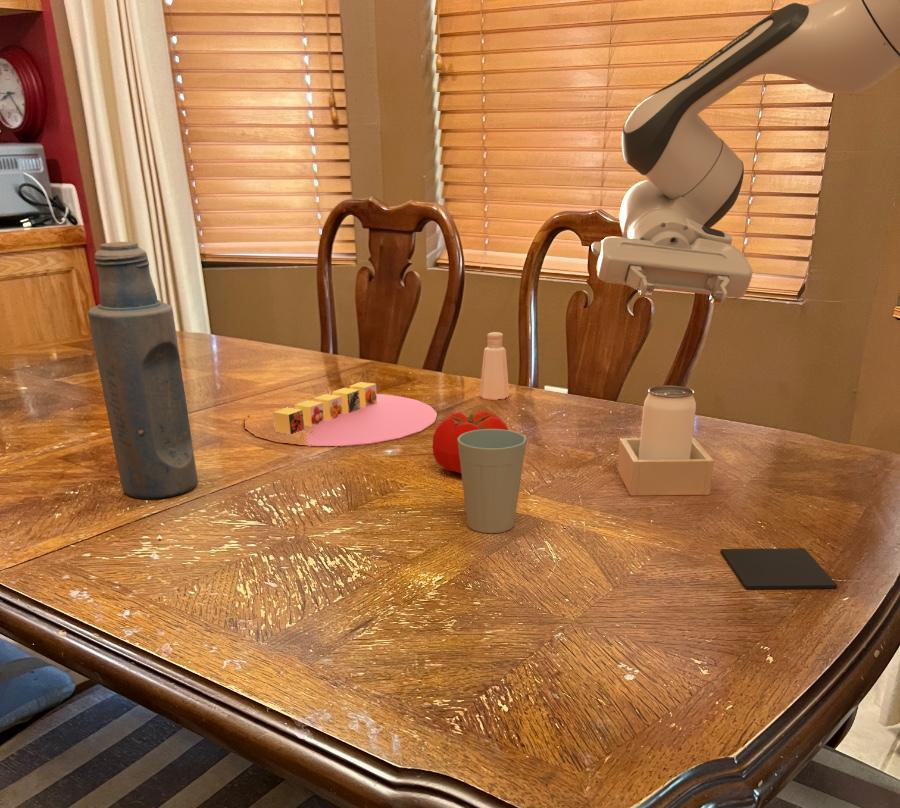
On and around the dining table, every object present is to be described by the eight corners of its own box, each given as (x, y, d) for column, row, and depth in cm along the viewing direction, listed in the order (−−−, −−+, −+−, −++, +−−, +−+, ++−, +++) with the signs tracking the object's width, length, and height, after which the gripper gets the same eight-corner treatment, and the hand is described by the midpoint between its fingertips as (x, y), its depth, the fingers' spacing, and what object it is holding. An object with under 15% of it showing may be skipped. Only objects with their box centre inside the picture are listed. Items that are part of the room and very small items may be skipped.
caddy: (690, 469, 117) (694, 437, 115) (709, 495, 108) (714, 460, 106) (617, 470, 117) (619, 438, 115) (630, 495, 109) (633, 461, 106)
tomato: (496, 454, 124) (497, 402, 121) (519, 478, 115) (521, 423, 111) (424, 460, 122) (423, 408, 119) (442, 485, 113) (441, 430, 109)
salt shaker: (477, 400, 152) (478, 336, 147) (480, 392, 157) (480, 330, 152) (508, 400, 151) (509, 336, 146) (510, 393, 156) (511, 330, 151)
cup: (452, 514, 104) (452, 430, 99) (514, 510, 105) (517, 426, 100) (464, 539, 97) (464, 450, 92) (530, 534, 98) (533, 446, 93)
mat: (803, 551, 93) (804, 547, 93) (836, 588, 85) (837, 585, 85) (720, 552, 93) (720, 548, 93) (745, 589, 85) (746, 586, 85)
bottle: (162, 471, 119) (122, 237, 106) (214, 482, 115) (179, 240, 101) (106, 492, 112) (55, 244, 98) (159, 505, 108) (113, 248, 94)
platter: (200, 428, 138) (197, 407, 137) (326, 386, 162) (325, 368, 161) (360, 459, 123) (358, 436, 121) (472, 407, 147) (473, 388, 146)
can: (628, 476, 115) (636, 386, 110) (673, 472, 116) (683, 383, 111) (649, 492, 110) (658, 399, 104) (695, 488, 111) (707, 395, 105)
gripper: (595, 217, 115) (610, 261, 105) (741, 234, 117) (769, 279, 107) (584, 263, 120) (597, 309, 110) (725, 279, 121) (751, 326, 112)
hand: (684, 295), depth 109 cm, fingers open, 8 cm apart
